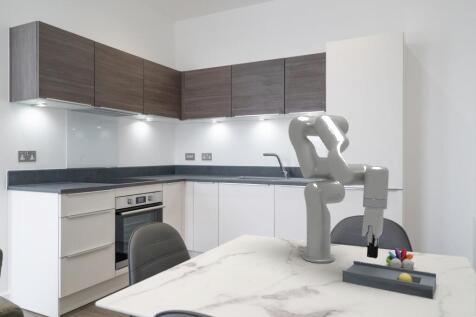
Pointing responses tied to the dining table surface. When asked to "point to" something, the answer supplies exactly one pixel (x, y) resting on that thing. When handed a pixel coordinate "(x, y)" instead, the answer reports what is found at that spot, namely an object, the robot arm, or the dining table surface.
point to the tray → (391, 279)
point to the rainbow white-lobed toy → (400, 259)
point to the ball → (405, 277)
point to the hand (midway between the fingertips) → (372, 257)
